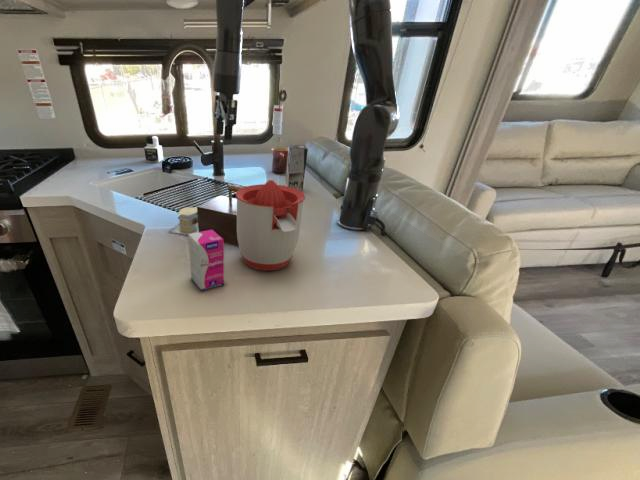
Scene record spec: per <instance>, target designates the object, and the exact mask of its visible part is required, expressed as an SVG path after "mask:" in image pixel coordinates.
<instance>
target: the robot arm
mask: <svg viewBox="0 0 640 480" xmlns="http://www.w3.org/2000/svg"><path fill="white" fill-rule="evenodd" d="M255 1H256V0H215V13H216V14H215V15H216V34H215V35H216V39H215V55H214V60H213V61H214V62H213V81H212V82H213V84H212V90H213V92H214V93H217V94H215V96H214V110H213V111H214V112H213V117H214V118H215V121H216V123H215V134H216V135H218V136H223V139H224V140H225V141H232V139H233V129H234V128H233V127H234V125H235V126H236V125H237V118H238V115H237V114H238V104H239V103H238V99H234V95H239V94H240V89H241V80H242V79H241V77H242V66H243V65H242V63H243V60H242V53H243V39H244V30H243V13H244V10H245V9H246V8H247V7H249V6H250V5H251V4H253V3H254V2H255ZM348 12H349V29H350V38H351V39H350V40H351V47H352V53H353V56H354V57H353V58H354V60H355V63H356V66H357V68H358V72H359V73H360V76H361V79H362V82H363V86H364V94H365V106H364V107H363V108H362V109H360V111H359V112H358V114H357V116H356V118H355V121H354V124H353V128H352V134H351V141H350V148H349V159H350V160H349V161H350V162H349V167H348V172H347V178H346V183H345V187H344V194H343V198H342V204H341V205H340V208H339V209H340V210H339V211H340V214H339V216H338V217H339V218H338V225H339V226H340V227H342V228H343V229H347V230H350V231H365V232H366V231H367V230H368V229H369V228H370V226H374V225H375V224H376V222H377V223H378V224H379V225H380V227H381V229H380V234H381V235H382V236H386V234H387V232H386V231H385V230H386V225H385V222H383V220H381V219H380V218H379V212H377V211H375V208H376V204H377V200H378V196H379V195H378V192H379V187H380V184H381V181H382V176H383V172H384V168H385V164H386V158H385V156H384V152H385V149H386V148H385V147H386V143H387V139H388V138H389V137H391V136H392V135H393V133H395V131H396V129H397V127H398V124H399V120H400V112H399V106H398V100H397V93H396V87H395V78H394V51H393V49H394V48H393V47H394V46H393V21H392V6H391V1H390V0H348Z"/></svg>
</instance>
